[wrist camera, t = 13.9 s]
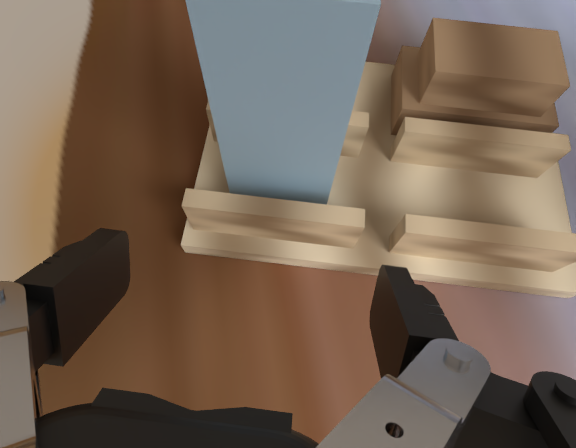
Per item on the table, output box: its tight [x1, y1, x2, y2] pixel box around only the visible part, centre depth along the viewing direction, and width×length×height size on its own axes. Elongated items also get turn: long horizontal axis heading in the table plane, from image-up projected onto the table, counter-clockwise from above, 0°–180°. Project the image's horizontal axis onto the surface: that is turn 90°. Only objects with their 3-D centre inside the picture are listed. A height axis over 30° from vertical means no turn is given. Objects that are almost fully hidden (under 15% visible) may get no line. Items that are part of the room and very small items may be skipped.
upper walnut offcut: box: [418, 18, 570, 117], centre depth 22 cm, size 7×4×2 cm, turn 83°
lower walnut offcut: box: [391, 46, 559, 135], centre depth 25 cm, size 9×5×2 cm, turn 83°
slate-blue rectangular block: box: [186, 0, 381, 205], centre depth 17 cm, size 6×2×13 cm, turn 84°
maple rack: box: [181, 62, 576, 298], centre depth 23 cm, size 22×15×4 cm
